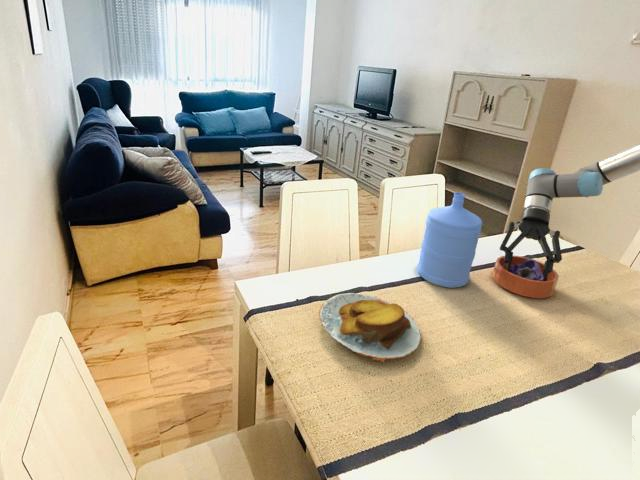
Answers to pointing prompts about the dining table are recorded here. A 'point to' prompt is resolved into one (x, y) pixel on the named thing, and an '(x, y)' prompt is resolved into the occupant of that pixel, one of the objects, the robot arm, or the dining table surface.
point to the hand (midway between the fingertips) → (525, 276)
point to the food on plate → (370, 326)
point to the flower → (528, 270)
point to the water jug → (449, 244)
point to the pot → (523, 279)
